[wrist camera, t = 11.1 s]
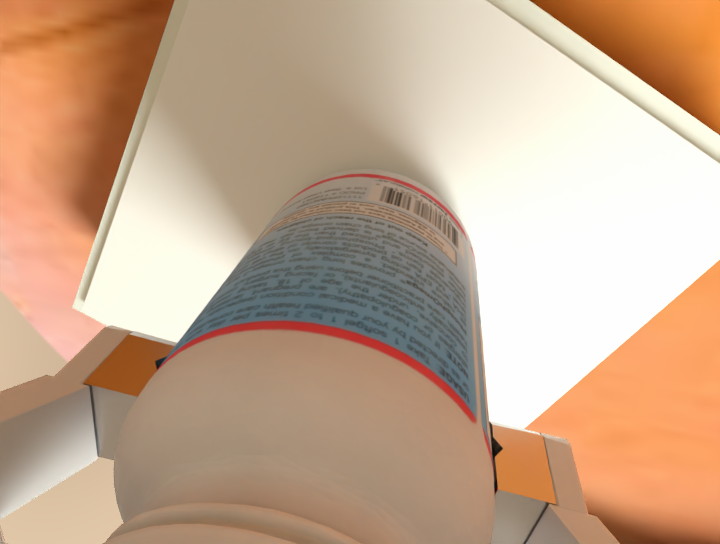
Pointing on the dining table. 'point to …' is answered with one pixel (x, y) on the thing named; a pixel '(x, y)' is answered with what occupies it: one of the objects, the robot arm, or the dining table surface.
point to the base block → (416, 169)
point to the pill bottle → (323, 386)
